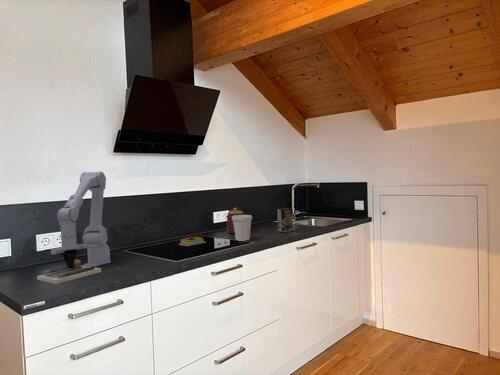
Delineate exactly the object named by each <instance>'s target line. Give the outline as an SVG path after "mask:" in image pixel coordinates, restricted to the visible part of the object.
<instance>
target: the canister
mask: <svg viewBox="0 0 500 375" xmlns="http://www.w3.org/2000/svg"><path fill="white" fill-rule="evenodd" d="M236 215H244V212H243V211H242V210H241V209H240V210H239V209H238V208H237V207H234V208H233V209H232V210H228V212H227V215H226V216H225V217H226V233H227V234H229V233H235V231H234V224H233V220H232V216H236Z"/></svg>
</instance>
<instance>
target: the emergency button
mask: <svg viewBox="0 0 500 375" xmlns="http://www.w3.org/2000/svg"><path fill="white" fill-rule="evenodd" d="M205 243H207V241H204V238H203V237H196V236H188V237H187V238H183V239H180V243H179V244H178V245H179V246H182V247H183V246H184V247H191V246H194V245H195V246H196V245H200V244H205Z"/></svg>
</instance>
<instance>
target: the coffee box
mask: <svg viewBox="0 0 500 375" xmlns="http://www.w3.org/2000/svg"><path fill="white" fill-rule="evenodd" d="M276 210H277V213H276V214H277V232H278V231H281V232H286V231H293V232H294V212H293V211H294V209H293V208H277V209H276Z"/></svg>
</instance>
